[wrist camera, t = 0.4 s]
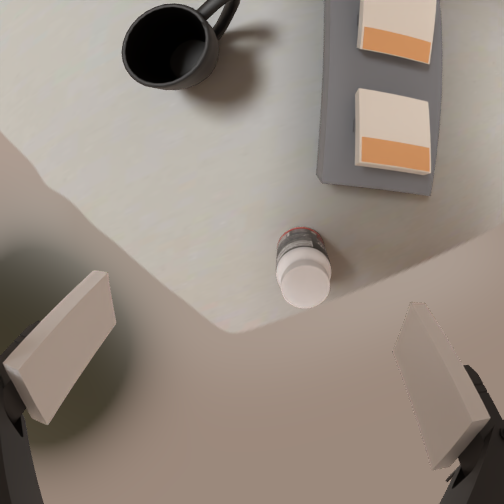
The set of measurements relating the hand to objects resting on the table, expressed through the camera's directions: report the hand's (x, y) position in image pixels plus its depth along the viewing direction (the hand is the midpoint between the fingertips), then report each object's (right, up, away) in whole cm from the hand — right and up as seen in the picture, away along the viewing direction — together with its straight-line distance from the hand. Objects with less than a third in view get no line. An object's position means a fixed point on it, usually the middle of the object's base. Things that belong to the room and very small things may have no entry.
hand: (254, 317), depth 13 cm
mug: (-5, +25, +17) cm, 31 cm away
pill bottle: (+6, +3, +26) cm, 27 cm away
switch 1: (+13, +25, +9) cm, 30 cm away
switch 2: (+13, +14, +14) cm, 23 cm away
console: (+14, +27, +15) cm, 33 cm away
